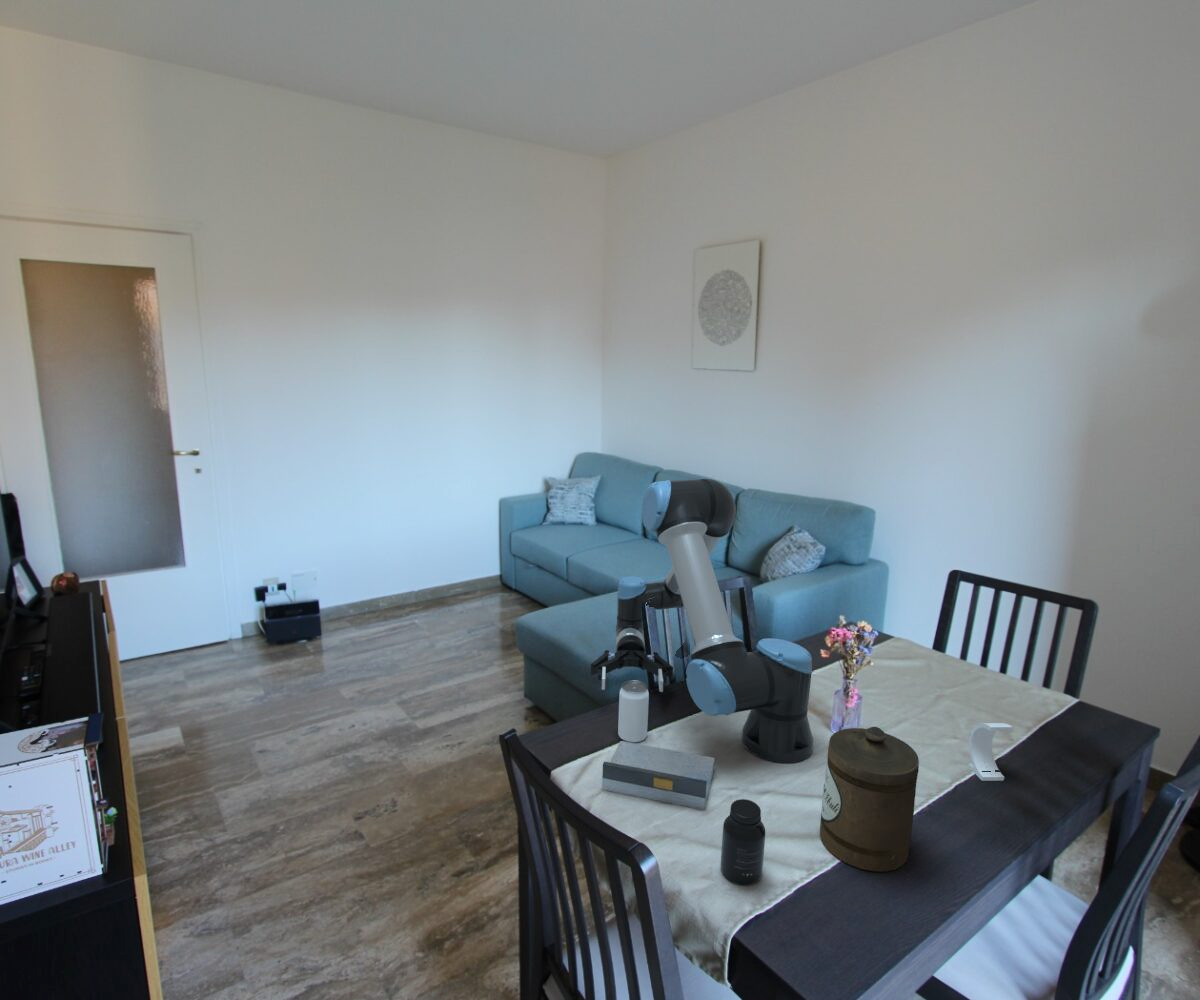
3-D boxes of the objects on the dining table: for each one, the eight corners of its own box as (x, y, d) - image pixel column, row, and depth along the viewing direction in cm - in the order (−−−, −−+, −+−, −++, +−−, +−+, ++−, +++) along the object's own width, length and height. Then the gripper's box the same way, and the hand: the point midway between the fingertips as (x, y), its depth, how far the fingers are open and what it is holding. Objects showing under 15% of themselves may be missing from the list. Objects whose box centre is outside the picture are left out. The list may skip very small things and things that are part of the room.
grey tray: (713, 768, 145) (715, 744, 144) (704, 811, 131) (705, 785, 130) (620, 751, 150) (621, 728, 149) (601, 790, 136) (602, 765, 135)
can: (647, 729, 159) (649, 680, 157) (646, 744, 153) (648, 694, 150) (619, 726, 160) (620, 678, 157) (616, 742, 154) (618, 691, 151)
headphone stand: (982, 780, 143) (990, 727, 141) (965, 763, 149) (973, 712, 146) (1003, 780, 143) (1012, 727, 141) (986, 763, 149) (994, 712, 147)
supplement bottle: (715, 857, 119) (720, 794, 117) (754, 856, 120) (760, 793, 117) (726, 888, 113) (731, 822, 110) (767, 886, 113) (773, 820, 111)
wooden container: (829, 805, 134) (840, 700, 129) (913, 833, 127) (928, 722, 122) (809, 851, 121) (821, 736, 117) (901, 885, 114) (918, 764, 109)
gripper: (677, 662, 186) (684, 702, 165) (583, 659, 186) (578, 698, 165) (678, 636, 184) (686, 672, 163) (583, 632, 185) (579, 668, 164)
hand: (632, 685), depth 164 cm, fingers open, 13 cm apart
